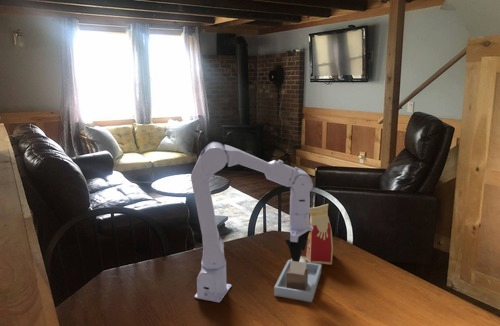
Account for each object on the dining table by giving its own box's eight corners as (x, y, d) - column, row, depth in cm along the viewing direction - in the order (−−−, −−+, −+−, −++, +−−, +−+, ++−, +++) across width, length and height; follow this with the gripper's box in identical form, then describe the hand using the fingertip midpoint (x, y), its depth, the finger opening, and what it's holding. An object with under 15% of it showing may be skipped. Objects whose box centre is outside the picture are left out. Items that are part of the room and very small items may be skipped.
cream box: (303, 275, 113) (303, 262, 112) (290, 272, 115) (290, 260, 114) (306, 268, 117) (306, 256, 116) (293, 266, 118) (293, 254, 117)
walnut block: (304, 291, 114) (305, 275, 113) (286, 288, 116) (286, 272, 115) (307, 283, 118) (308, 268, 117) (290, 280, 120) (290, 265, 119)
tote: (311, 302, 109) (312, 293, 108) (274, 295, 112) (274, 287, 112) (321, 272, 125) (321, 264, 125) (288, 267, 129) (288, 259, 128)
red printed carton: (330, 252, 140) (332, 199, 135) (333, 264, 131) (335, 208, 126) (304, 251, 140) (306, 199, 136) (305, 263, 131) (307, 207, 127)
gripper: (308, 222, 104) (307, 268, 107) (317, 205, 117) (315, 246, 120) (283, 219, 106) (282, 264, 109) (294, 202, 119) (293, 243, 122)
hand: (298, 255), depth 115 cm, fingers open, 7 cm apart
